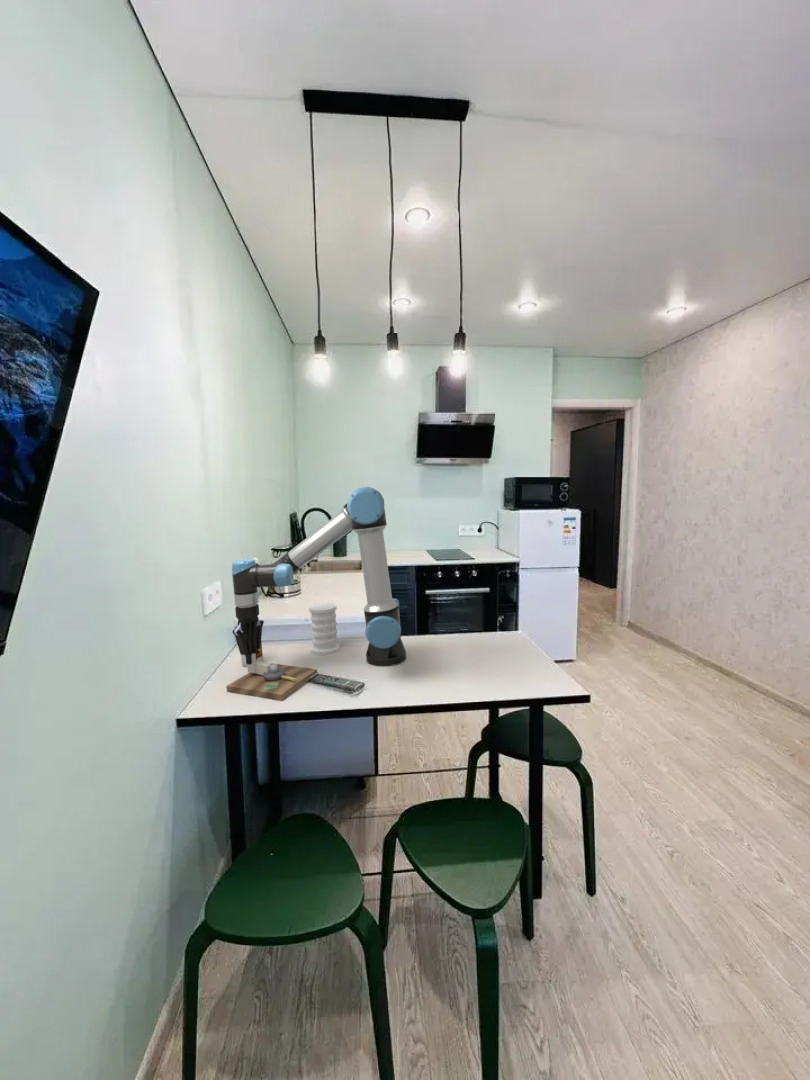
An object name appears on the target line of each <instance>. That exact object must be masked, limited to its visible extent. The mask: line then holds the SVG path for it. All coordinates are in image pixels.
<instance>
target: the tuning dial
mask: <svg viewBox="0 0 810 1080" xmlns="http://www.w3.org/2000/svg"><path fill="white" fill-rule="evenodd" d="M277 664H278V663H273V664H272V662H266V661H263V662H262V661H256V668H257V672H255V674H260V675H264V679H265V680H278V679H280V678H284V679H288V680H293V681H296V678H292V677H288V676H285V670H284V669H283V668H278V667H277Z"/></svg>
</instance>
